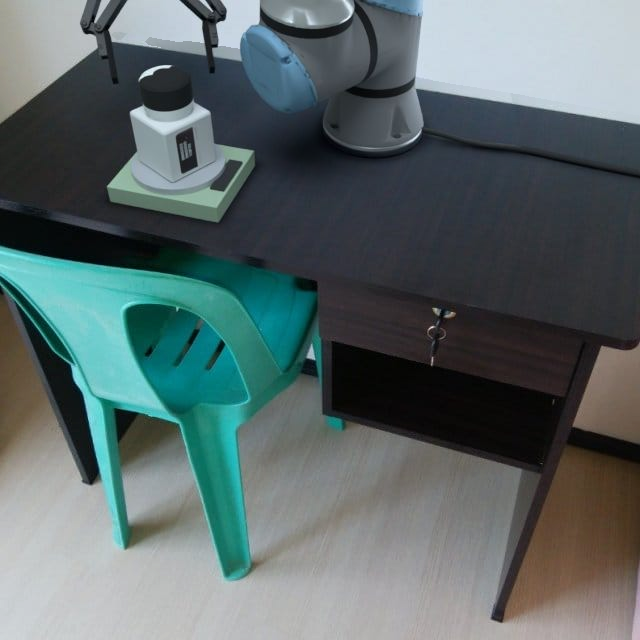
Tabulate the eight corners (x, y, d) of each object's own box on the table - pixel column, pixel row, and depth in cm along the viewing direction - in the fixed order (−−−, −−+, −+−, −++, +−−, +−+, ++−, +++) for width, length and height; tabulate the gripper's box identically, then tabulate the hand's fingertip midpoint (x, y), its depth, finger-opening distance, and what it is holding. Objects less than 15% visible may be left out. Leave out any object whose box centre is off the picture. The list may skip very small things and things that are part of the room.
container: (217, 161, 104) (207, 73, 94) (172, 184, 100) (157, 95, 90) (183, 139, 107) (169, 53, 98) (138, 161, 104) (120, 73, 94)
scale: (255, 165, 109) (253, 144, 106) (218, 222, 100) (215, 201, 97) (155, 147, 112) (151, 127, 110) (110, 201, 103) (105, 180, 100)
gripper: (226, -69, 111) (249, 74, 111) (52, -55, 107) (77, 93, 107) (228, -97, 103) (253, 57, 104) (41, -83, 99) (69, 76, 100)
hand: (164, 76), depth 106 cm, fingers open, 13 cm apart
